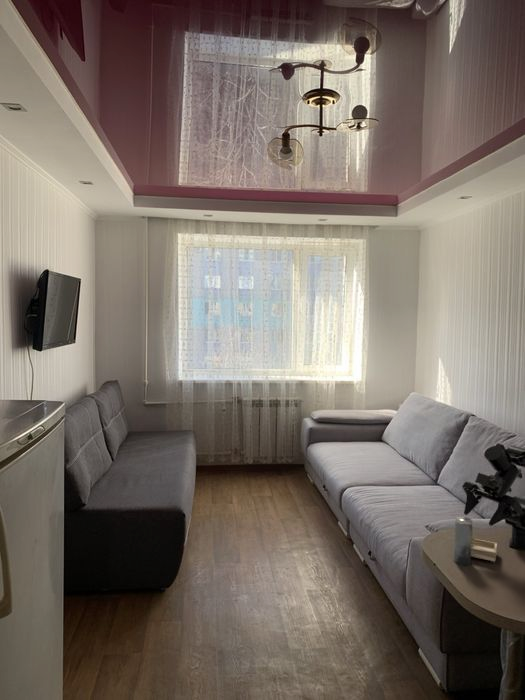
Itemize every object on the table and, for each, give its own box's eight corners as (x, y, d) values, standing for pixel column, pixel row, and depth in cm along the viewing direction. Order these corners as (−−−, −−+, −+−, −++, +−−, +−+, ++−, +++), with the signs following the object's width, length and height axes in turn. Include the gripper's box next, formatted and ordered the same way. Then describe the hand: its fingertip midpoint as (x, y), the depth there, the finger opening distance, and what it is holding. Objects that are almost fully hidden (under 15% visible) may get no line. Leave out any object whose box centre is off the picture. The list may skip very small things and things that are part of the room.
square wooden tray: (469, 548, 168) (469, 537, 168) (496, 553, 165) (497, 543, 164) (466, 558, 161) (467, 547, 161) (494, 564, 157) (495, 553, 157)
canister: (454, 556, 162) (456, 515, 161) (471, 560, 160) (473, 518, 159) (452, 562, 158) (454, 520, 157) (469, 566, 155) (471, 523, 155)
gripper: (467, 456, 170) (441, 494, 166) (518, 472, 154) (491, 514, 149) (482, 477, 175) (457, 514, 170) (534, 494, 158) (508, 536, 154)
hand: (477, 519), depth 161 cm, fingers open, 9 cm apart
